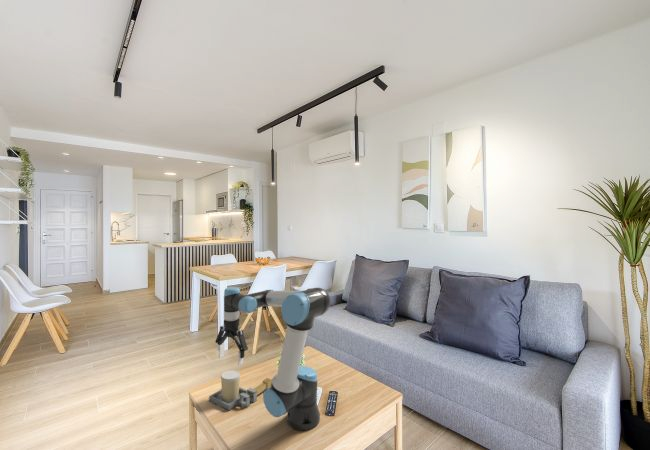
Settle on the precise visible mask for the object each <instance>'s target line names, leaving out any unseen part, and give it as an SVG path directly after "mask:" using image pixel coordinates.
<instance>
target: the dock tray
mask: <svg viewBox="0 0 650 450" xmlns="http://www.w3.org/2000/svg"><path fill="white" fill-rule="evenodd" d="M249 392H251V393H253V398H250V395H249ZM208 401H209V402H210V403H212V404H214V405H215V406H218V407H220V408H222V409H225V411H232V410H233V409H234V408H236V407H237V406H238V405H239V406H241V407H243V408H246V409H248V408H249V407H250V405H251V403H256V402H257V401H258V395H257V390H254V388H251V387H248V389H245V388H243V387H240V386H239V394H238V398H237V399H236V400H235V401H233V402H224V401H223V400H222V388H221V389H219V390H217V391H215V392H214V393H213V394H210V395H209V397H208ZM250 402H251V403H250Z"/></svg>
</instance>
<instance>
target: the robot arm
mask: <svg viewBox="0 0 650 450" xmlns="http://www.w3.org/2000/svg"><path fill="white" fill-rule="evenodd" d="M330 306H331V296H330V294H329V292H328V291H327V290H325V289H324V288H321V287H312V288H307V289H306V290H274V289H265V290H262V291H257V292H254V293H253V292H252V293H248V294H243V293H241V290H240V288H239V287H237V286H231V287H226V288H225V289H224V292H223V325H220V326H219V331H218V334H217V337H216V338H215V344H217V346H218V349H217V350H218V359H222V358H223V357H225V341H226V340H227V338H230V339H232V340H233V341H234V343H235V344H236V346H237V348H238V352H237V353H238V354H237V356H238V357H237V358H238V362H237V363H238V364H237V365H238V366H240V365H243V364H244V358H245V352H246V351H248V349H249V347H248V344H247V342H246V338H245V335H244V329H241V330H239V326H240V312H242V313H247V314H251V313H253V312H254V311H256V309H259V308H262V307H281V309H280V312H281V314H282V315H281V317H282V319H283V321H284V324H285V326H286V330H285V331H286V332H285V335H284V336H285V337H284V340H283V345H282V350H281V355H280V359H279V363H278V364H279V365H278V369H277V373H276V374H275V375H274V376H273V377H272V379H271V380H272V383H271V387H270V388H268V389H265V390H264V391H263V395H262V399H263V405H264V407H265V409H266V410H267V412H268V414H270V415H271V416H272V417H274V418H280V417H283V416H285V415H287V416H286V423H287V424H288V425H289V427H290V428H292V429H294V430H297V431H309V430H311V429H314V428H315V427H317V426H318V425H319V423H320V420H321V413H320V410H319V406H318V402H317V400H318V397H317V396H318V380H319V379H318V373H317V371H316V370H315V369H314V368H312V367H309V366H302V365H301V363H302V359H303V354H304V349H305V345H306V340H307V337H308V333H309V331H310V330H312V329H313V327H314V322H315V319H316V318H318V317H320V316H323V315H324V314H326V313H327V311H328V310H329V309H330Z"/></svg>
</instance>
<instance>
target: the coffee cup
mask: <svg viewBox="0 0 650 450" xmlns="http://www.w3.org/2000/svg"><path fill="white" fill-rule="evenodd" d="M220 379H221V380H220V381H221V389H222V400H223V401H224V402H233V401H235V400H236V399H237V398H238V394H239V387H240V383H241V382H240V381H241V373H240V371H239V370H235V369H234V370H233V369H230V370H226V371H224V372H223V373H222V374H221V376H220Z"/></svg>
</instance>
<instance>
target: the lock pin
mask: <svg viewBox="0 0 650 450" xmlns="http://www.w3.org/2000/svg"><path fill="white" fill-rule="evenodd" d="M271 383H272V379H271V378H268V377H266V378H265V379H264V380H262V383H261V384H259V385H258V386H256V387H255V388H253V389H254V390H257V396H258V395H259V394H261V393H262V392H264V391H265V390H266V389H268V388H270V387H271ZM249 395H250V398H253V393H251V392H249Z"/></svg>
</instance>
